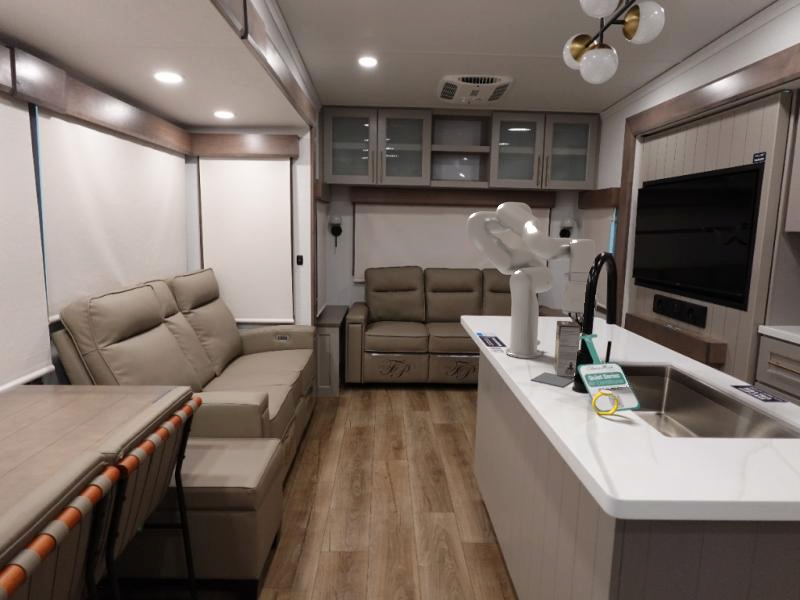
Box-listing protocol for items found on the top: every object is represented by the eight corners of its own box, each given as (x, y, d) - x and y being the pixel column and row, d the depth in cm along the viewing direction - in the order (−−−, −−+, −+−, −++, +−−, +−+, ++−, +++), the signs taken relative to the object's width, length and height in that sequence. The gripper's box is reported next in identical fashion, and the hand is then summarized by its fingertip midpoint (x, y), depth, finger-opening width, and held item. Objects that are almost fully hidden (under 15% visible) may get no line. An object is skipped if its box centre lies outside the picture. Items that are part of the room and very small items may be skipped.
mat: (544, 373, 157) (544, 372, 157) (576, 379, 151) (576, 378, 151) (530, 380, 150) (530, 379, 150) (562, 387, 144) (562, 386, 143)
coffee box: (553, 368, 162) (556, 320, 160) (573, 369, 161) (577, 321, 159) (556, 375, 153) (559, 324, 151) (577, 377, 152) (581, 326, 150)
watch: (613, 413, 125) (617, 390, 124) (617, 417, 122) (621, 394, 121) (589, 411, 125) (592, 388, 124) (593, 415, 122) (596, 392, 121)
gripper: (553, 276, 162) (551, 331, 164) (600, 280, 152) (597, 338, 155) (563, 275, 167) (560, 328, 170) (608, 278, 158) (605, 334, 160)
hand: (577, 333), depth 162 cm, fingers closed
